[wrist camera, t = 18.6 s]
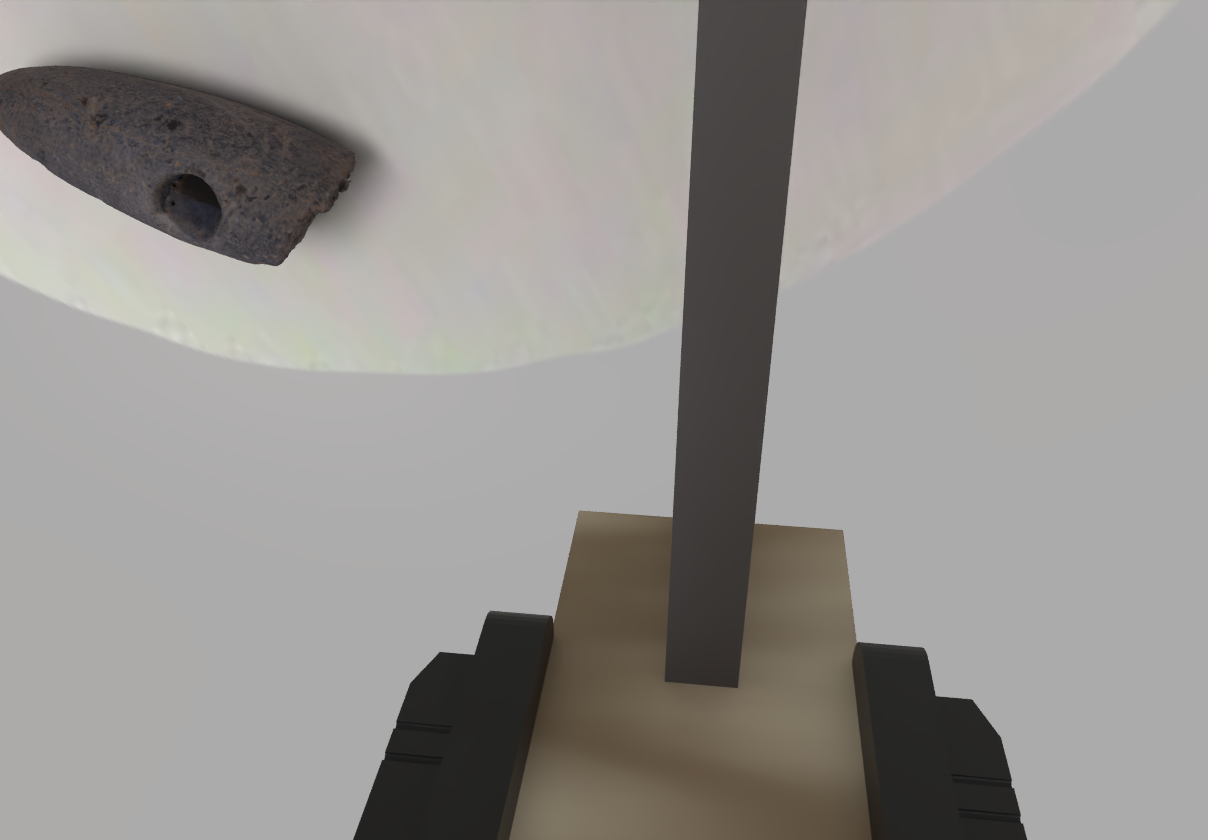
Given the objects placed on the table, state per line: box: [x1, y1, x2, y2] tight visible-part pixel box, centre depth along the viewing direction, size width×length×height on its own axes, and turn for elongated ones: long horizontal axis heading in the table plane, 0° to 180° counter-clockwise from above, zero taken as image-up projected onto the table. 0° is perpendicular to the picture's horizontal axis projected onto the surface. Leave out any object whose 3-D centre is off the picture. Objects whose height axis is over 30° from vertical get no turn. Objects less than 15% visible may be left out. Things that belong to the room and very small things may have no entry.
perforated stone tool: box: [0, 66, 355, 266], centre depth 43 cm, size 15×5×7 cm, turn 71°
